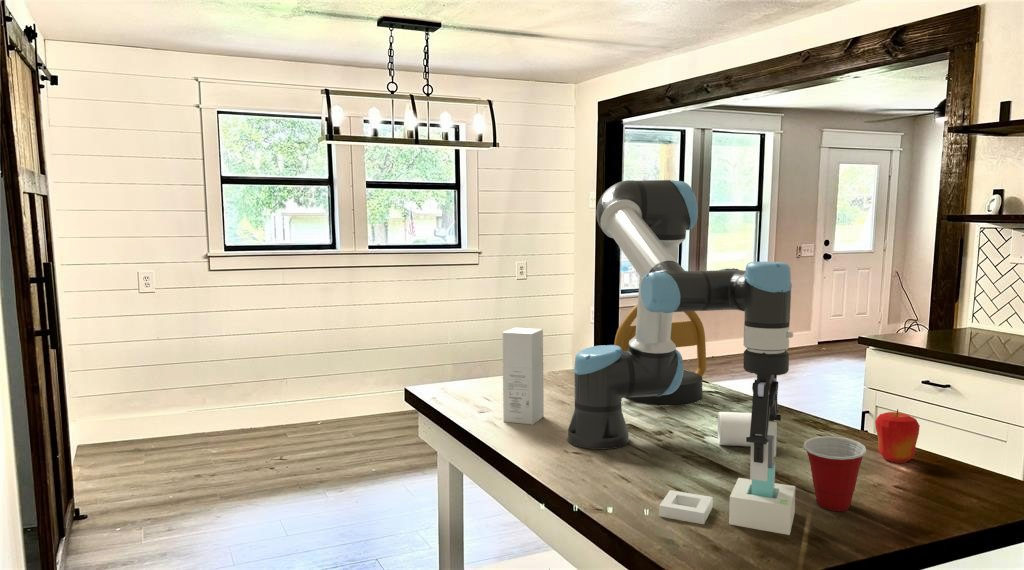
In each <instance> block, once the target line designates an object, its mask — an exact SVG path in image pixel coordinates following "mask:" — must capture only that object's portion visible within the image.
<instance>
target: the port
mask: <svg viewBox="0 0 1024 570" xmlns="http://www.w3.org/2000/svg"><path fill="white" fill-rule="evenodd" d="M795 511H796V485H792V484H791V485H790V484H783V483H776V482H775V493H774V498H769V497H763V496H756V495H752V479H750V478H742V477H738V478H737V480H736V483H735V485H734V486H733V489H732V491H731V493H730V495H729V511H728V512H729V514H728V518H729V520H728V525H732V526H738V527H742V528H747V529H753V530H754V529H755V530H759V531H765V532H770V533H771V532H772V533H776V534H780V535H781V534H782V535H787V536H790V535H791V531H792V526H793V522H794V518H795V513H796V512H795Z"/></svg>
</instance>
